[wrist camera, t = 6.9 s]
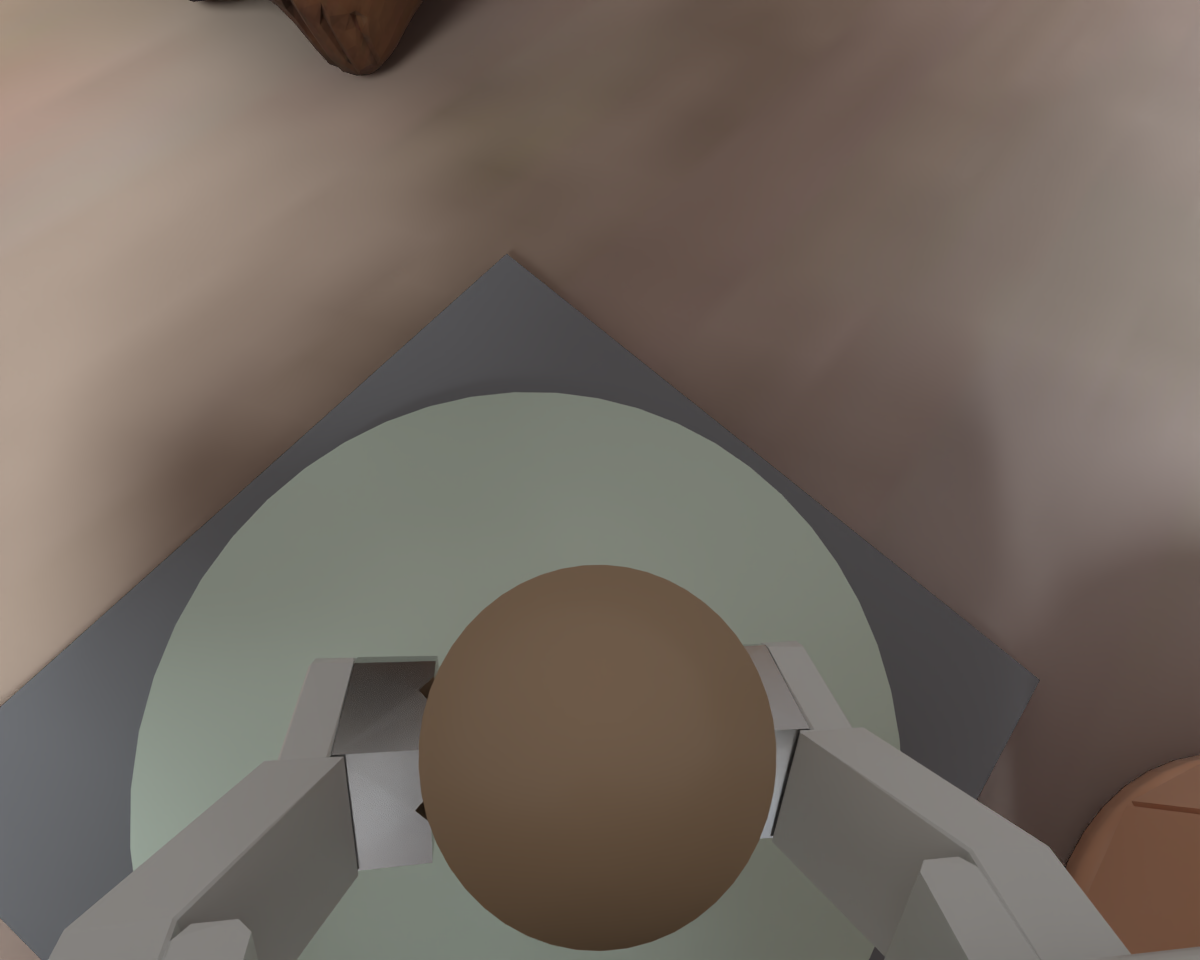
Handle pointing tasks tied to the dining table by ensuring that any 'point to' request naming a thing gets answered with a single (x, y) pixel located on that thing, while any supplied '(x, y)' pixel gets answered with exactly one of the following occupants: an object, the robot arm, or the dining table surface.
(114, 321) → the dining table surface
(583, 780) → the lid
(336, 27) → the decorative turtle
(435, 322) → the mat
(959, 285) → the dining table surface
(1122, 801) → the bowl
